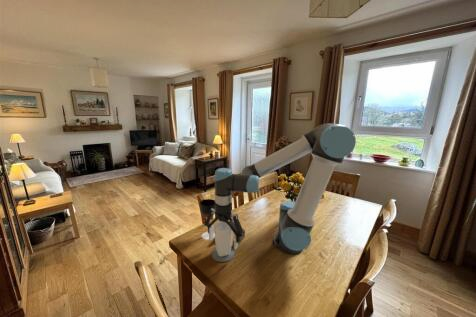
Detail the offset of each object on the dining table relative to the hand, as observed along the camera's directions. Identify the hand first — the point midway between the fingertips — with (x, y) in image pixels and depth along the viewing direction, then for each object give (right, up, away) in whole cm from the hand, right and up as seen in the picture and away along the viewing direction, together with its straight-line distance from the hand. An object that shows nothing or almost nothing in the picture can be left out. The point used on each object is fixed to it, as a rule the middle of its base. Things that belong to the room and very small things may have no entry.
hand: (223, 243), depth 91 cm
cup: (0, -5, +1) cm, 5 cm away
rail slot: (+3, -3, +12) cm, 13 cm away
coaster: (0, -6, +1) cm, 6 cm away
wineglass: (-9, -3, +15) cm, 18 cm away
